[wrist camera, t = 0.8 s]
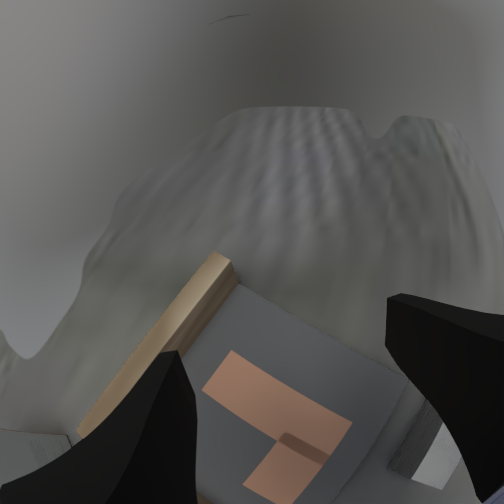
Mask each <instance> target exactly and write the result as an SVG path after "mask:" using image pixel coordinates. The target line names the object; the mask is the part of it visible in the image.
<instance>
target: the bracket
mask: <svg viewBox="0 0 504 504" xmlns="http://www.w3.org/2000/svg"><path fill="white" fill-rule="evenodd" d="M460 458H461V453H460V451H459V449H458V447H457V445H456V443H455V441H454V440H453V438H452V436H451V434H450V432H449V431H448V429H447V427H446V426H445V424H444V422H443V421H442V419H441V418H440V416H439V414H438V413H437V411H436V410H435V409H434V408H433V406H432V405H431V404H430V402H429V401H428V400H427V399H426V400H425V402H424V404H423V406H422V408H421V410H420V412H419V414H418V416H417V418H416V420H415V422H414V424H413V425H412V427H411V429H410V431H409V433H408V434H407V436H406V438H405V440H404V441H403V443H402V445H401V446H400V448H399V450H398V451H397V453H396V455H395V456H394V458H393V459H392V461H391V463H390V464H389V466H388V467H387V468H389V469H391V470H393V471H395V472H397V473H399V474H402V475H404V476H406V477H408V478H410V479H412V480H415V481H418V482H420V483H423V484H426V485H429V486H432V487H435V488H438V489H441V490H442V489H443V488H444V486H445V484H446V483H447V481H448V479H449V478H450V476H451V474H452V473H453V471H454V469H455V467H456V466H457V464H458V462H459V460H460Z"/></svg>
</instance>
